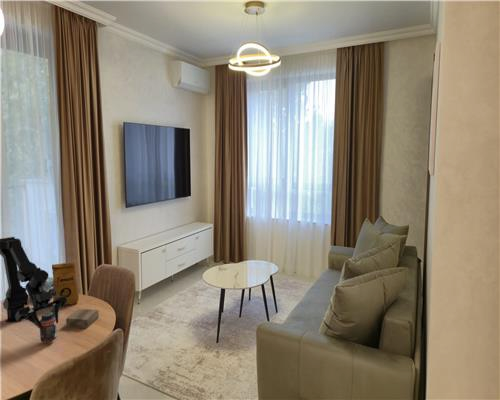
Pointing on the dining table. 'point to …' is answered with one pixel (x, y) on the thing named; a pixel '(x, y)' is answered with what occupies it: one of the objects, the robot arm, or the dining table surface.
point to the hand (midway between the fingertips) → (49, 325)
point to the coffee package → (65, 282)
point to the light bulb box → (48, 284)
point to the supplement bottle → (48, 327)
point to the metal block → (82, 318)
